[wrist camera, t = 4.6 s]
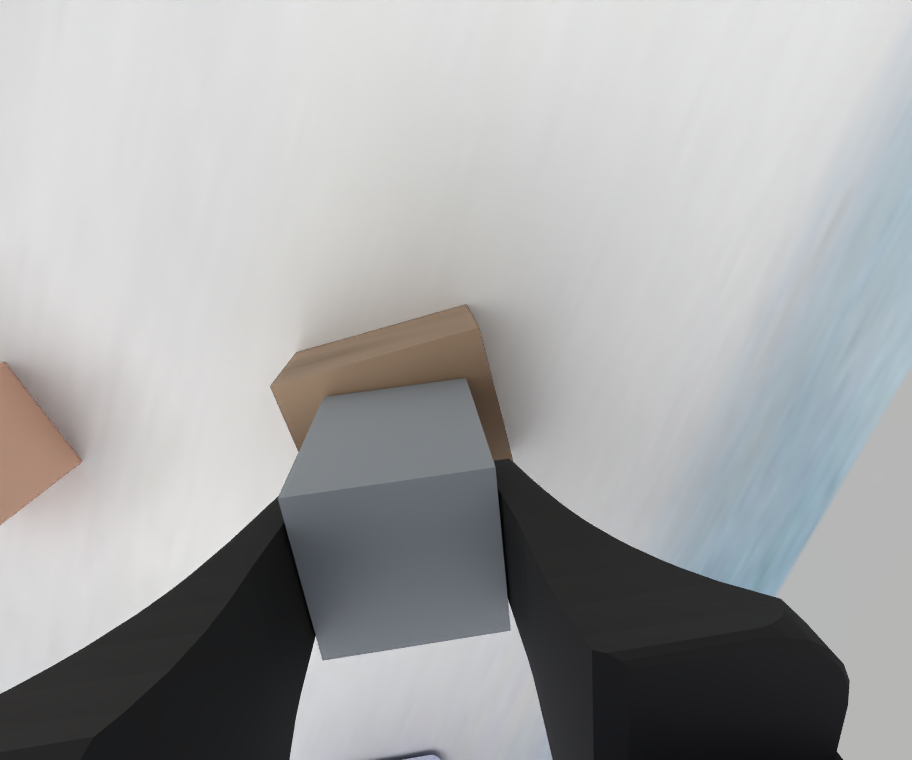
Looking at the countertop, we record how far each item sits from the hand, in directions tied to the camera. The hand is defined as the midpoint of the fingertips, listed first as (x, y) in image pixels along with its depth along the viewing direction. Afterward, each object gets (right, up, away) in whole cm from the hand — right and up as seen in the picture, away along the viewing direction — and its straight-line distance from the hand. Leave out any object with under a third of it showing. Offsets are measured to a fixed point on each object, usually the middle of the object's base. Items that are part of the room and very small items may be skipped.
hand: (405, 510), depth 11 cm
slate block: (0, +1, +3) cm, 3 cm away
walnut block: (-1, +2, +6) cm, 7 cm away
